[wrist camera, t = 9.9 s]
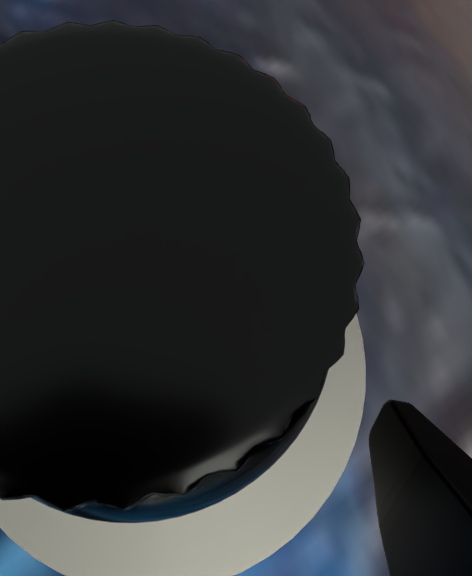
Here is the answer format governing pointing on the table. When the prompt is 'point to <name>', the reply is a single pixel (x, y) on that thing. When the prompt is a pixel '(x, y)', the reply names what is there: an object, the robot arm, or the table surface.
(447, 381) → the table surface
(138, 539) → the saucer
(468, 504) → the robot arm
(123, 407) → the supplement bottle
